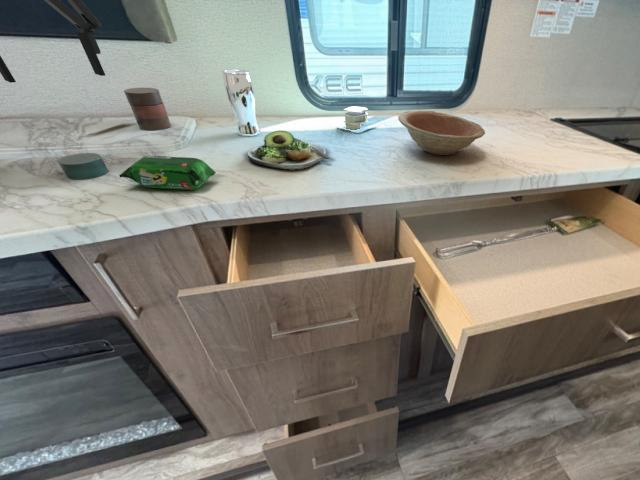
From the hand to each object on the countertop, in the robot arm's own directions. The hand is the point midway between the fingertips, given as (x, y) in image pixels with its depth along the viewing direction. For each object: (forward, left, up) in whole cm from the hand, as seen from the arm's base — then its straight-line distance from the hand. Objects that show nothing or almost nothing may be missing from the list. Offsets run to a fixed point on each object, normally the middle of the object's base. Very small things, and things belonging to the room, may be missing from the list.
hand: (58, 78), depth 62 cm
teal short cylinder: (0, -4, -16) cm, 17 cm away
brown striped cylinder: (-12, +30, -16) cm, 37 cm away
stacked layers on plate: (+42, +52, -17) cm, 69 cm away
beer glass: (+15, +34, -17) cm, 41 cm away
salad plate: (+34, +19, -17) cm, 42 cm away
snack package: (+20, -4, -17) cm, 26 cm away
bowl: (+70, +39, -17) cm, 82 cm away
